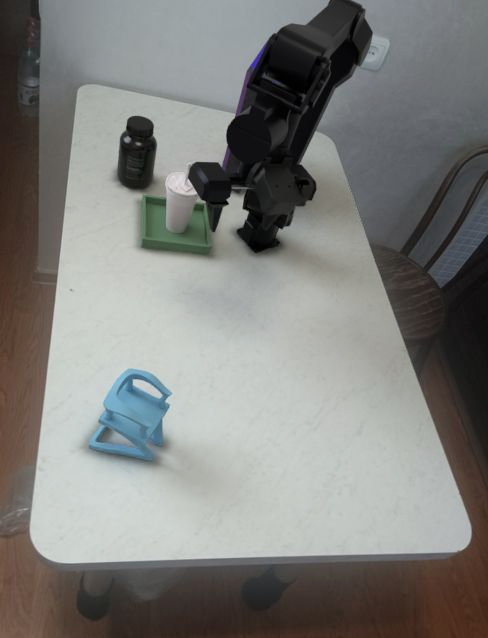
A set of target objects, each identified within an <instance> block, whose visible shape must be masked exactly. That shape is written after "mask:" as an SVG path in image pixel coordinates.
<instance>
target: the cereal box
mask: <svg viewBox="0 0 488 638" xmlns="http://www.w3.org/2000/svg"><path fill="white" fill-rule="evenodd" d="M271 36H272V35H270V36H269V37H268V39H267V40H266V42H265V43H264V45H263V46H262V48H261V49H260V51H259V52H258V53H257V55H256V56H255V58H254V59H253V61H252V62H251V64H250V65H249V67H248V68H247V70H246V72H245V76H244V80H243V84H242V87H241V92H240V96H239V100H238V103H237V107H236V111H235V115H234V118H235V117H237V116H238V115H239V114H241V113H242V112H244V111H245V110H246V109H248V108H249V107H250V106H251V105H252V103H254V101H255V98H256V95H257V93H256V92H254V91H252V90H250V89H248V88H246V86H247V83H248V81H249V79H250V77H251V75H252V73H253V71H254V69H255V67H256V65H257V63H258V61H259V59H260V57H261V55H262V53H263V51H264V49H265V47H266V44H267V42H268V41H269V39H270V37H271ZM262 77H263V78H265V79H267V80H269V81H271V82H273V83H275V84H280V82H278V81H276V80H274V79H272V78H270V77H268V76H266V74H265V72H264V74H263V76H262ZM235 160H236V157H234V155H233V154H232V153H231V151H230V149H229V147H228V144H227V146H226V149H225V153H224V157H223V160H222V161H223V162H222V165H221V167H222V168H223V170H224V171H225V173H237V171H238V168H237V167H236V165H235V164H234V163H235ZM241 190H242V189H232V192H234V193H237V194H240V192H241Z"/></svg>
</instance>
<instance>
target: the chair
mask: <svg viewBox="0 0 488 638" xmlns="http://www.w3.org/2000/svg"><path fill="white" fill-rule="evenodd" d="M135 380H138V381H142V382H146V383H148V384H150V385H151V386H153V387H154V388H155V389H156V390H157V391H158V392H159V393H160V394H161V395H162V396H160V398H159V397H157V396H155V395H152V394H151V393H148V392H147V391H144V390H143V389H141V388H139V387H137V386H135V385H134V381H135ZM172 395H173V391H171V390H170V389H169V388H167V387H166V386H165V384H164V383H162V381H161V380H160V379H159V378H158V377H157V376H155V375H154V374H153V373H151V372H149V371H146V370H142V369H136V368H127V369H126V370H125V371H123V372H122V373H121V374H120V375H119V377H118V378H117V379H116V380H115V381H114V383H113V385H112V386H111V387H110V389H109V391H108V392H107V393H106V396H105V397H104V399H103V402H102V405H103V408H104V409H105V410H104V411H103V412H102V414H101V415H100V416H99V418H98V422H97V423H99V424H101V425H100V426H99V427H98V429H97V430H96V431H95V433H94V434H93V435H92V437H90V440H89V441H88V447H89V449H92V450H95V451H98V452H103V453H104V452H105V453H108V454H109V453H110V454H115V455H121V456H126V457H131V458H137V459H140V460H145V461H148V462H152V461H154V458H155V454H154V452H153V451H152V450H150V448H148V447H147V443H148V442H149V441H150V442H151V443H153V445H155V446H157V447H162V446H163V445H164V432H163V419H164V417H165V415H166V414H167V412H168V411H169V409H170V407H171V403H169V402H167V400H168V398H169V397H170V396H172ZM107 428H109V429H111V430H112V431H114V432H116V433H117V434H119V435H121V436H122V437H124V438H125V439H126V440H127V441H129V442H130V443H131V444H132V445H133V446H127V445H122V444H121V445H119V444H115V443H114V444H113V443H106V442H99V439H100V437H101V436H102V435H103V433H104V432H105V430H106V429H107Z"/></svg>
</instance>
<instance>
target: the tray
mask: <svg viewBox="0 0 488 638" xmlns="http://www.w3.org/2000/svg"><path fill="white" fill-rule="evenodd" d="M166 201H167V197H164V196H157V195H151V194H145V193H143V194H142V196H141V213H140V214H141V225H140V227H141V228H140V229H141V231H140V248H145V249H153V250H161V251H168V252H169V251H170V252H177V253H187V254H188V253H189V254H194V255H195V254H196V255H204V256H210V253H211V250H212V241H211V239H212V238H211V229H210V226H209V220H208V214H207V207H206V202H200V201H197V202H196V204H195V207H194V209H193V212H192V214H191V217H190V219H189V222H188V224H187V227H186V230H185V231H184V232H182V233H173V232H171V231H169V230H168V229H167V227H166Z"/></svg>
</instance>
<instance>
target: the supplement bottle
mask: <svg viewBox="0 0 488 638" xmlns="http://www.w3.org/2000/svg"><path fill="white" fill-rule="evenodd" d="M154 129H155V125H154V122H153V121H152V120H151V119H150V118H148V117H146V116H142V115H132V116H130V117H128V118H127V120H126V126H125V130H124V131H123V132H122V133H121V134H120V136H119V144H118V156H117V157H118V159H117V170H116V171H117V172H116V176H117V179H118V181H119V182H120V183H121V184H122V185H123V186H125V187H128V188H129V189H134V190H141V189H146V188H147V187H149V186H150V185H151V184H152V183H153V180H154V179H153V178H154V172H155V164H156V157H157V149H158V142H157V139H156V137H155V136H154V133H155V132H154Z"/></svg>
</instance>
